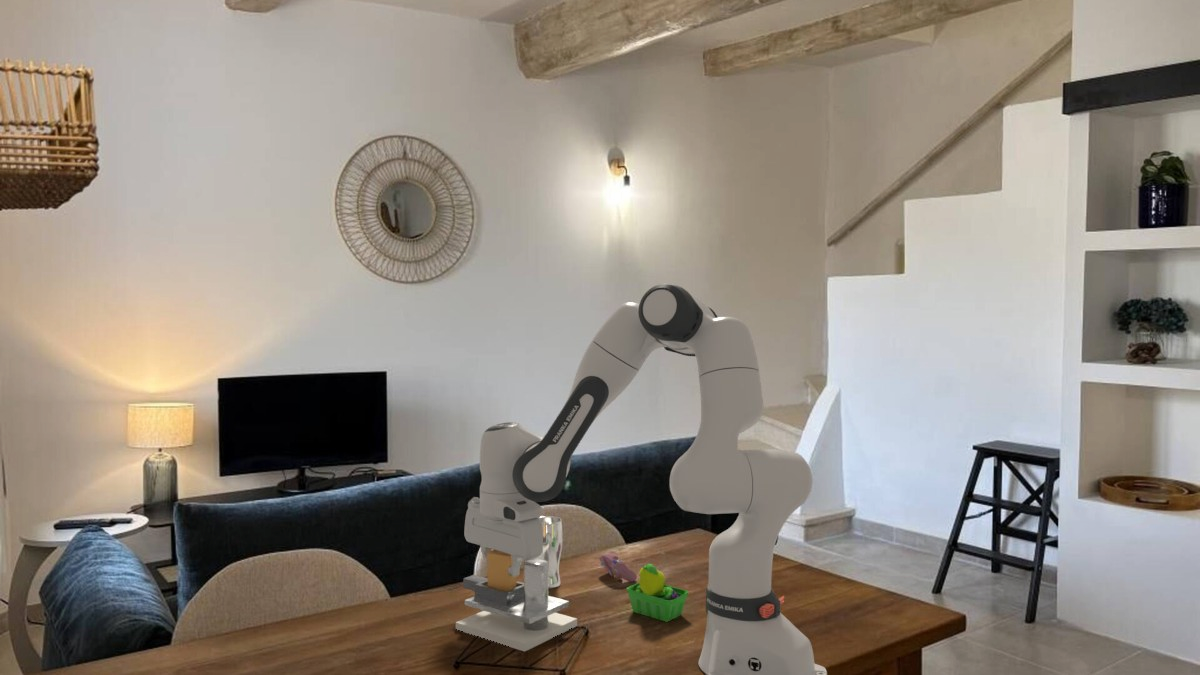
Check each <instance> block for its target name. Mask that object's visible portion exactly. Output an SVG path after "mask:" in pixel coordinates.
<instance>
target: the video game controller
mask: <svg viewBox="0 0 1200 675" xmlns="http://www.w3.org/2000/svg"><path fill="white" fill-rule="evenodd" d="M599 565H600V566H601V567H604V569H605V570H606V571H607V573H608V574H609V575H610V576H611V577H614V579H616V580H617V581H619V580H621V579H624V580H625V581H626V582H631V583H632V582H633V581H634V582H637V578H638V576H637V574H636V572H635V571H633V569H631V568H629V567H628V566H627V564H625V563H624V561H623V560H621V558H620V557H619V555H618V554H616V553H613V552H608V551H607V552H606V553H603V554H601V555H600V556H599ZM634 582H633V583H634Z"/></svg>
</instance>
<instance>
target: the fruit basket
mask: <svg viewBox="0 0 1200 675" xmlns="http://www.w3.org/2000/svg"><path fill="white" fill-rule="evenodd" d="M638 574H639V580H638V582H637V583H635V584H633V585H630V586H628V587H626V592H627V594H628V596H629V601H630V603H631V610H632V611H633V613H637V614H641V615H644V616H647V617H650V618H653V619H655V620H660V621H663V622H666V623H668V621H669V622H670V621H672V619H673V620H675V619H677V618H678V617H681V616H682V614H683V611H684V606H685V603H686V599H687V597H688V595H689V591H688V590H687V589H682V588H678V587H675V586H671V585H667V584H665V581H666V577H665V575H664V573H663V572H662V571H660V570H659V569H657V568H656V567H655V565H654V564H652V563H647V564H646V565H644V566H643V567H641V569H640V570H639V573H638ZM680 615H681V616H680ZM674 618H675V619H674Z"/></svg>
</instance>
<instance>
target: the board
mask: <svg viewBox="0 0 1200 675" xmlns="http://www.w3.org/2000/svg"><path fill="white" fill-rule="evenodd" d="M576 627H578V618H576V617H574V616H573V617H572V616H569V615H566V614H562V613H558V612H555V613H553V614H551V615H549V616H548V627H547V628H546V629H544V630H539V631H532V630H527V629H525V628H524V622H521V621H517V620H514V619H511V618H507V617H504V616H500V615H497V614H494V613H490V612H487V611H483V610H481V611H480V612H477V613H475V614H472V615H470V616H467V617H464V618H462V619H459V620H458V621H456V622H455V630H456V629H457V630H456V631H458V630H460V631H459V632H461V631H463V632H462V633H466V634H468V633H469V634H468V635H471V634H472V635H471V636H474V635H475V636H474V637H477V636H479V637H478V638H480V637H481V639H483V638H485V639H484V640H487V639H488V640H487V641H490V640H491V641H490V642H493V641H494V642H493V643H496V642H497V644H499V643H500V644H499V645H502V644H503V645H502V646H505V645H506V646H505V647H508V646H509V647H508V648H511V649H512V648H513V649H514V650H518V651H521V652H526V651H529V650H532V649H533V648H536V647H537V646H539V645H542V644H543V643H545V642H547V641H550V640H552V639H554V638H555V636H556V637H557V635H558V636H560V635H561V633H562V634H564V633H566V632H568V631H570V630H572V629H574V628H576ZM571 628H572V629H571ZM569 629H570V630H569ZM553 637H554V638H553Z"/></svg>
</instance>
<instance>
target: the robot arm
mask: <svg viewBox="0 0 1200 675" xmlns="http://www.w3.org/2000/svg"><path fill="white" fill-rule="evenodd" d="M754 344H755V343H754V341H753V337H752V335H751V332H750V330H749V327H748V325H747V324H746V323H745V322H744V321H743V320H741V319H739V318H737V317H733V316H719V317H718V315H717V314H716V313H715V311H714V310H713V309H712V308H711V307H709V306H708V305H707V304H706V303H704V302H703V300H702V299H701V298H700V297H699V296H697V295H695V294H693V293H692V292H690V291H688V290H686V289H685V288H683V287H681V286H679V285H677V284H670V283H661V284H657V285H655V286H652V287H651V288H650V289H648V290H647V291H646V292H645V293H644V295H642V298H641V299H640V302H639V303H638V302H632V301H630V302H628V301H627V302H624V303H622V304H620V305H619V306H618V307H617V308H616V309H615V310H614V311H613V312H612V313H611V315H610V316H608V318H607V319H606V321H605V322H604V323H603V324H602V325H601V326H600V328H599V330H598V331H597V332H596V334H595V335H594V336H593V338H592V340H591V341H590V343H589V345H588V346H587V348H586V350H585V352H584V353H583V356H582V358H581V360H580V363H579V365H578V368H577V370H576V372H575V376H574V379H573V383H572V386H571V389H570V393H569V395H568V397H567V400H566V402H565V403H564V405H563V406H562V409H561V410H560V412H559V413H558V415H557V416H556V418H555V420H554V421H553V422H552V424H551V425H550V427H549V428H548V430H547V432H546V434H544V436H542V435H538V434H536V433H534V432H532V431H530V430H528V429H527V428H525V427H524V426H523V425H522V424H520V423H518V422H514V421H513V422H503V423H502V422H501V423H497V424H495V425H492V426H490V427H488V428H487V429H486V430H484V432H483V433H482V435H481V438H480V448H479V472H480V476H481V482H480V485H479V497H477V496H473V497H472V498H471V499H470V500H469V501H468V503H467V510H466V514H465V520H464V531H463V532H464V538H465V540H466V542H468V543H471V544H475V545H478V546H480V552H481V554H482V557H483V559H484V567H485V569H487V553H489V552H491V551H493V550H497V551H500V552H504V553H507V554H510V555H511V559H512V560H514V561H513V563H512V566H510V567H508V571H509V572H508V574H509V575H510V576H513V577H516V576H517V577H518V576H519V575H520V572H521V569H520V567H522V564H523V563H524V560H526V561H528V560H534V558H536V557H539V556H540V555H541V553H542V551H543V528H542V523H541V521H540V519H539V518H537V517H541V516H543V508H542V506H541V505H540V504H538V503H543V502H548V501H551V500H553V499H555V498H556V497H557V496H558V495H559V494H560V493H561V492H562V490H563V488H564V487H565V484H566V480H567V476H568V474H569V472H570V469H571V464H572V460H571V459H572V456H573V454H574V453H575V451H576V450H577V448H578V446H579V445H580V443H581V441H582V440H583V438H584V437H585V435H586V433H587V431H589V429H590V427H591V426H592V424H593V423H594V421H595V420H596V419H597V418H598V417H599V415H601V413H602V412H603V411H604V410H605V409H606V408H608V406H609V405H611V403H612V402H614V401H615V400H616V399H617V398H618V397H619V396H620V395H621V394H622V393H623V392H624V390H625V389H627V388H628V386H629V385H630V383H631V382H633V380H634V379H635V377H636V376H637V374H638V373H639V371H640V370H641V368H642V366H643V364H644V363H645V362H646V360H647V358H648V357H650V355H651V353H652V352H653V351H655V350H656V349H659V348H664V350H666V351H668V352H672V353H676V354H679V355H682V356H687V357H695V358H696V361H697V368H698V370H697V371H698V381H699V382H698V383H699V391H700V392H699V393H700V414H701V416H700V424H699V428H698V432H697V434H696V437H695V439H694V440H693V442H692V444H691V445H690V447H689V448H688V449H687V450H686V451H685V452H684V453H683V454H682V455H680V457H679V458H678V459H676V461H675V463H674V464H673V466H672V468H671V471H670V475H669V491H670V493H671V496H672V498H673V500H674V502H676V504H677V505H678V507H679V508H680V509H681V510H683V511H685V512H691V513H697V514H698V513H699V514H705V515H718V514H720V515H721V514H737V513H738V516H737V517H736V520H735V521H734V522H733V524H731V526H730V527H728V529H726V530H724V531H722V532H721V533H719V534H717V536H715V538H713V540H712V542H711V544H710V546H709V549H708V584H707V586H706V590H705V591H706V592H705V613H706V617H707V618H706V628H705V632H704V633H705V634H704V640H703V645H702V649H701V653H700V657H699V659H698V666H699V668H700V670H701V671H702V672H703V673H704V674H705V675H828V671H827V669H826V667H824V666H823V665H820V664H817V663H815V657H814V651H813V647H812V643H811V641H810V639H809V638H808V637H807V636H806V635H805V634H804V633H803V632H801V631H800V630H799V629H798V628H797V626H795V625H794V624H793V623H792V622H791V620H789V619H788V618H787V617H786V616H785V615H784V614H783V613H781V605H783V604H784V603H785V600H784V599H785V595H782V596H781V597H777V595H776V594H775V592H774V590H773V588H772V574H773V572H772V571H773V561H774V560H773V558H774V552H775V546H776V542H777V540H778V537H779V534H780V532H781V530H782V528H783V526H784V525H785V524H786V522H787V521H788V519H789V518H790V516H791V515H792V514H793V513H795V511H796V510H797V509H799V507H801V506H802V505H803V504H805V503H806V501H807V500H808V499H809V496H810V494H811V491H812V488H813V474H812V471H811V467H810V466H809V464H808V462H807V461H806V459H805V458H804V457H803V456H802V455H801V454H800V453H798V452H794V451H793V452H792V451H787V450H783V449H775V448H770V449H769V448H767V449H764V448H763V449H743V450H742V449H739V447H738V440H739V439H738V438H739V435H740V434H742V433H743V432H746V431H747V430H749V429H750V428H752V427H753V426H755V425H756V424H757V423H758V422H759V421H760V420H761V418H762V416H763V413H764V410H765V409H764V399H763V392H762V384H761V377H760V376H761V375H760V369H759V368H760V367H759V361H758V357H757V352H756V349H755V348H756V347H755V345H754Z"/></svg>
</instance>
